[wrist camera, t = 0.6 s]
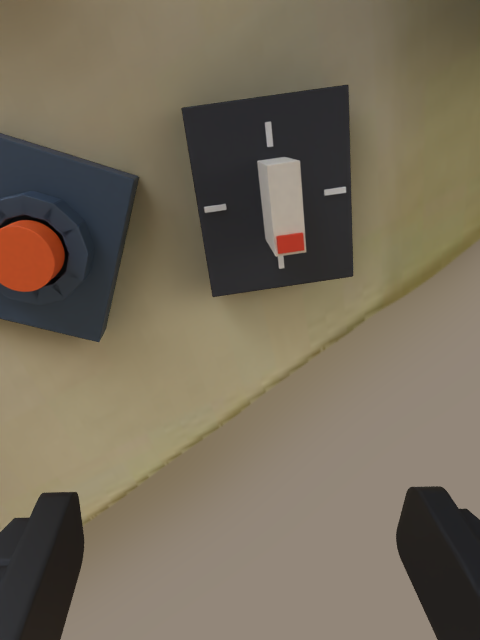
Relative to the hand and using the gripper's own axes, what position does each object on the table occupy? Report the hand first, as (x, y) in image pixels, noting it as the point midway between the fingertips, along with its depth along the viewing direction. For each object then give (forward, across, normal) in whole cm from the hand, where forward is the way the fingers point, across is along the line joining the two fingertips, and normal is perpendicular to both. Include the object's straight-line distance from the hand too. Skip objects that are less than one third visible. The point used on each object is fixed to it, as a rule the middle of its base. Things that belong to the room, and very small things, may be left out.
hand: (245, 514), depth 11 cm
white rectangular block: (+21, -3, -5) cm, 21 cm away
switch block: (+24, +12, -1) cm, 27 cm away
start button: (+20, +12, -1) cm, 23 cm away
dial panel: (+24, -3, -5) cm, 24 cm away
